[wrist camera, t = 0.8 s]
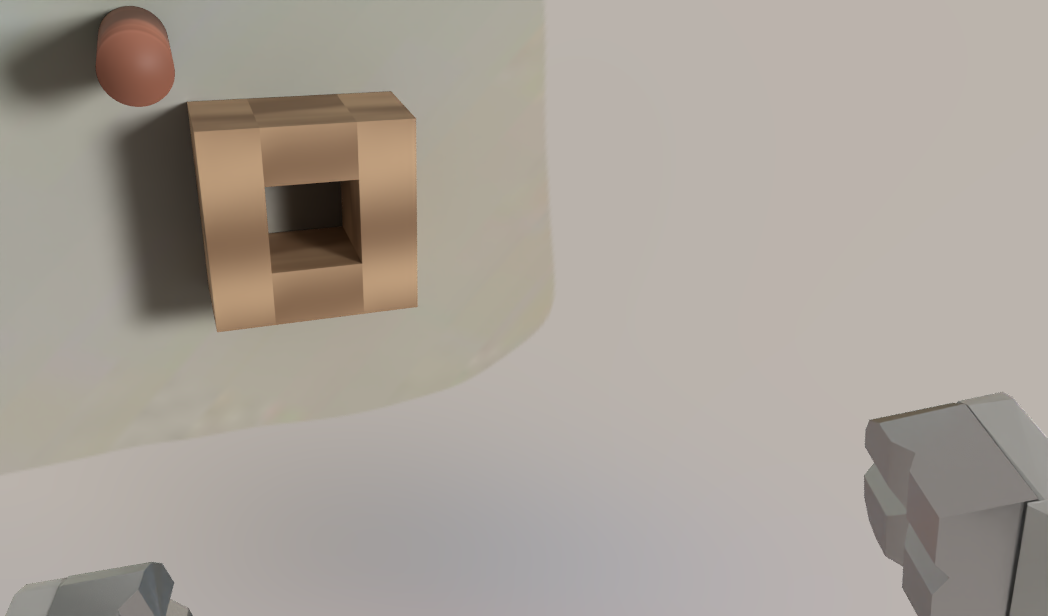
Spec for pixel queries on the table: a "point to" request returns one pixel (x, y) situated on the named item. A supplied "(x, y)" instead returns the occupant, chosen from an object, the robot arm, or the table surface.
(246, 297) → the hole block
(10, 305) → the table surface
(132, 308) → the table surface
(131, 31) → the short pin
